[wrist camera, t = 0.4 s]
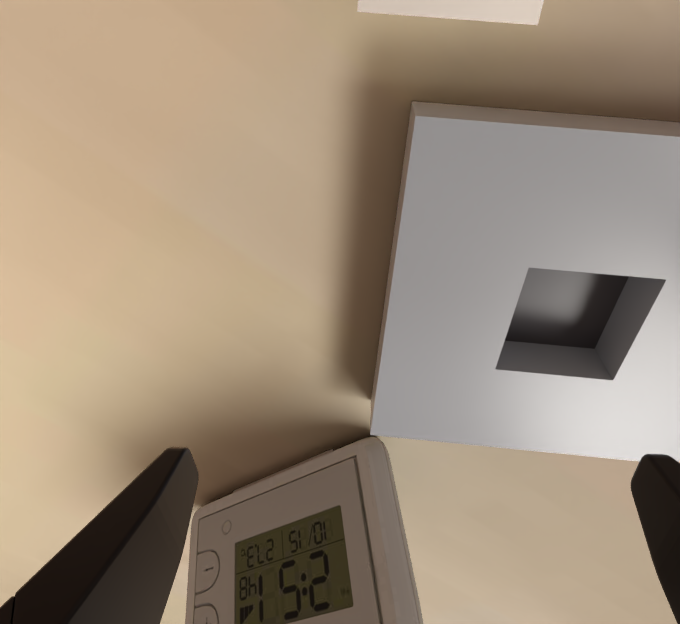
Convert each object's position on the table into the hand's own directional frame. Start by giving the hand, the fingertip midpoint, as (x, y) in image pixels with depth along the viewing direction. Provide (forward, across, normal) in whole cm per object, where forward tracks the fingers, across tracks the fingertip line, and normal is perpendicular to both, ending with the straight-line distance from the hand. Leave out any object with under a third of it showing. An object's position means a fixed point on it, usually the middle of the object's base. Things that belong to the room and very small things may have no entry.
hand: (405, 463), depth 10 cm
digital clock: (+14, +6, +20) cm, 25 cm away
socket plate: (+13, -8, +5) cm, 16 cm away
